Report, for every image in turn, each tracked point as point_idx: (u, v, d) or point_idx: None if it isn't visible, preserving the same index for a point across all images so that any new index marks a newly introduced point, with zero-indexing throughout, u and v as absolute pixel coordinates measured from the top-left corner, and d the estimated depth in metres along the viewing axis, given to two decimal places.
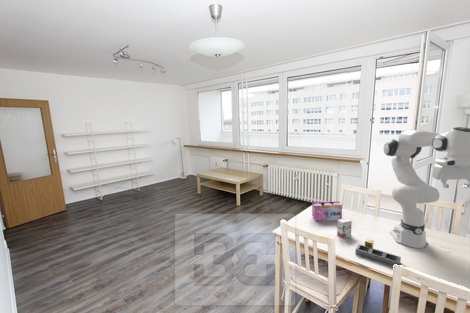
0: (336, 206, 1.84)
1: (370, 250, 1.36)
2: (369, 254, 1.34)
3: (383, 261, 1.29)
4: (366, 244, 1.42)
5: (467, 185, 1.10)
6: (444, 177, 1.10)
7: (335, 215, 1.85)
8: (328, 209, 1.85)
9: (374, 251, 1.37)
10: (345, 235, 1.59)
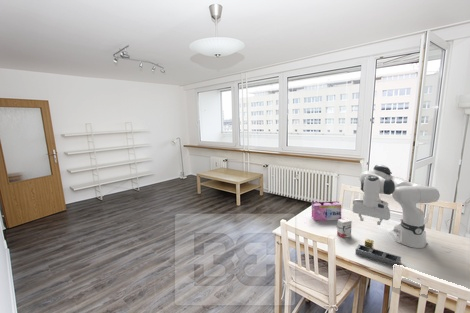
0: (335, 206, 1.85)
1: (370, 250, 1.36)
2: (369, 254, 1.34)
3: (383, 261, 1.29)
4: (366, 244, 1.42)
5: None
6: None
7: (335, 215, 1.86)
8: (327, 209, 1.85)
9: (374, 251, 1.37)
10: (345, 235, 1.59)
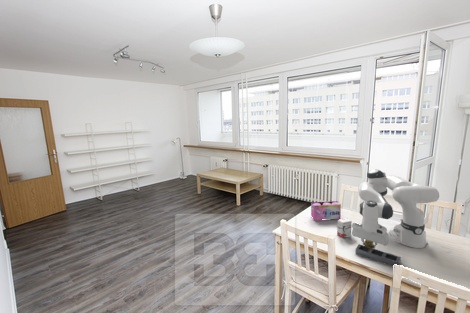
0: (334, 206, 1.85)
1: (370, 250, 1.36)
2: (369, 254, 1.34)
3: (383, 261, 1.29)
4: (366, 244, 1.42)
5: None
6: None
7: (334, 215, 1.86)
8: (327, 209, 1.86)
9: (374, 251, 1.37)
10: (345, 235, 1.59)
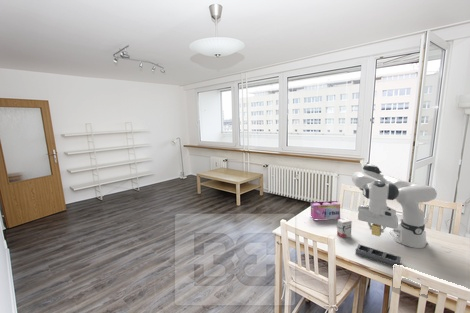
0: (334, 205, 1.86)
1: (370, 250, 1.36)
2: (369, 254, 1.34)
3: (383, 261, 1.29)
4: (373, 228, 1.32)
5: None
6: None
7: (334, 215, 1.87)
8: (326, 209, 1.86)
9: (374, 251, 1.37)
10: (345, 235, 1.59)
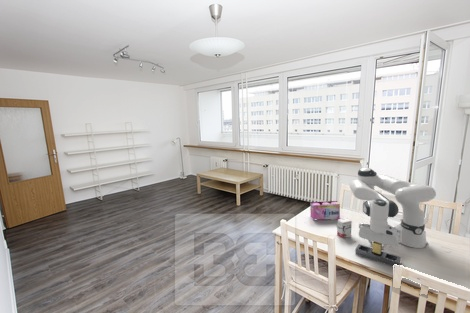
0: (334, 205, 1.86)
1: (370, 250, 1.36)
2: (369, 254, 1.34)
3: (383, 261, 1.29)
4: (374, 246, 1.32)
5: None
6: None
7: (333, 215, 1.87)
8: (326, 209, 1.86)
9: None
10: (345, 235, 1.59)
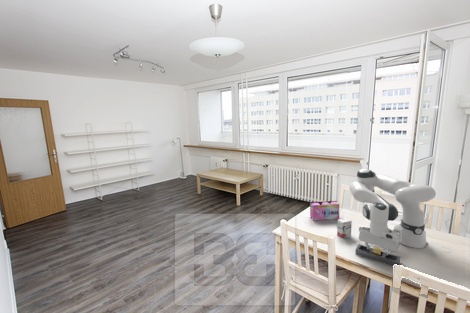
0: (333, 205, 1.86)
1: (370, 250, 1.36)
2: (369, 254, 1.34)
3: (383, 261, 1.29)
4: (374, 252, 1.33)
5: None
6: None
7: (333, 215, 1.87)
8: (326, 209, 1.86)
9: None
10: (345, 235, 1.59)
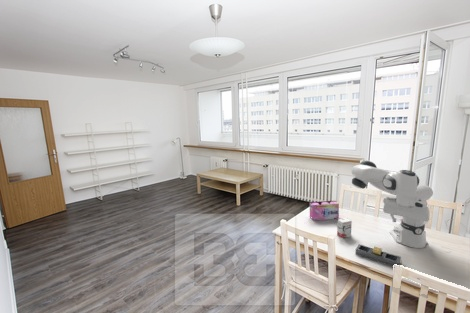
0: (333, 205, 1.87)
1: (370, 250, 1.36)
2: (369, 254, 1.34)
3: (383, 261, 1.29)
4: (374, 252, 1.33)
5: None
6: None
7: (333, 214, 1.88)
8: (325, 208, 1.87)
9: None
10: (345, 235, 1.59)
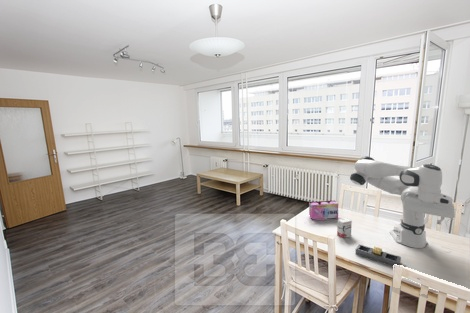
0: (332, 205, 1.87)
1: (370, 250, 1.36)
2: (369, 254, 1.34)
3: (383, 261, 1.29)
4: (374, 252, 1.33)
5: None
6: None
7: (332, 214, 1.88)
8: (325, 208, 1.87)
9: None
10: (345, 235, 1.59)
